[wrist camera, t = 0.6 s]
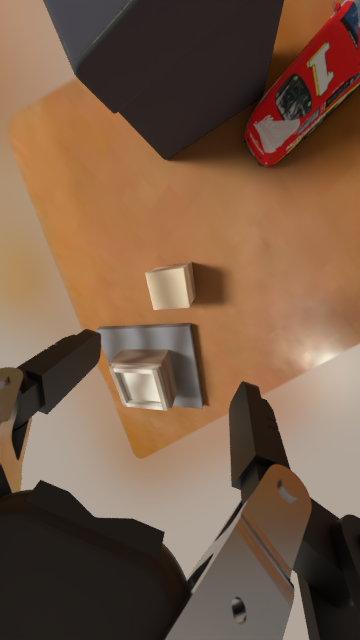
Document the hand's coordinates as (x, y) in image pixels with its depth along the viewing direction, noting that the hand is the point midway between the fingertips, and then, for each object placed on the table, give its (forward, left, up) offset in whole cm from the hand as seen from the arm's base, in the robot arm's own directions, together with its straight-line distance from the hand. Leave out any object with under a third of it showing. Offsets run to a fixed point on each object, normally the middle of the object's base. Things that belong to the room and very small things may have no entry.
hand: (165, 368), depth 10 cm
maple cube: (+4, -1, -19) cm, 20 cm away
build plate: (+12, +15, -19) cm, 27 cm away
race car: (-12, -17, -20) cm, 28 cm away
